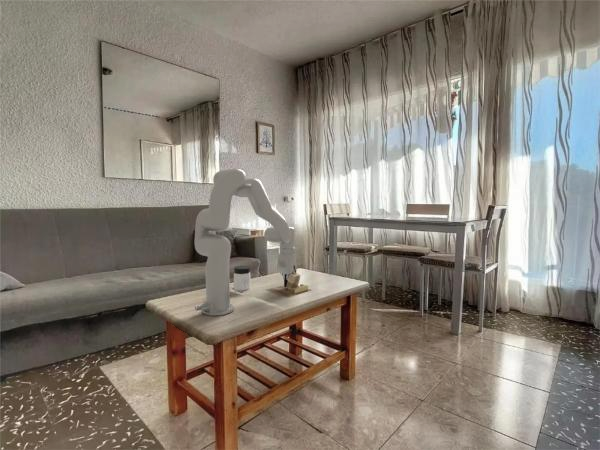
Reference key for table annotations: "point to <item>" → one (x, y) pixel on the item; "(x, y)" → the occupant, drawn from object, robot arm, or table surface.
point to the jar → (241, 278)
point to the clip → (298, 289)
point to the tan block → (293, 280)
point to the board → (284, 291)
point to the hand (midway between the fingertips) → (287, 286)
